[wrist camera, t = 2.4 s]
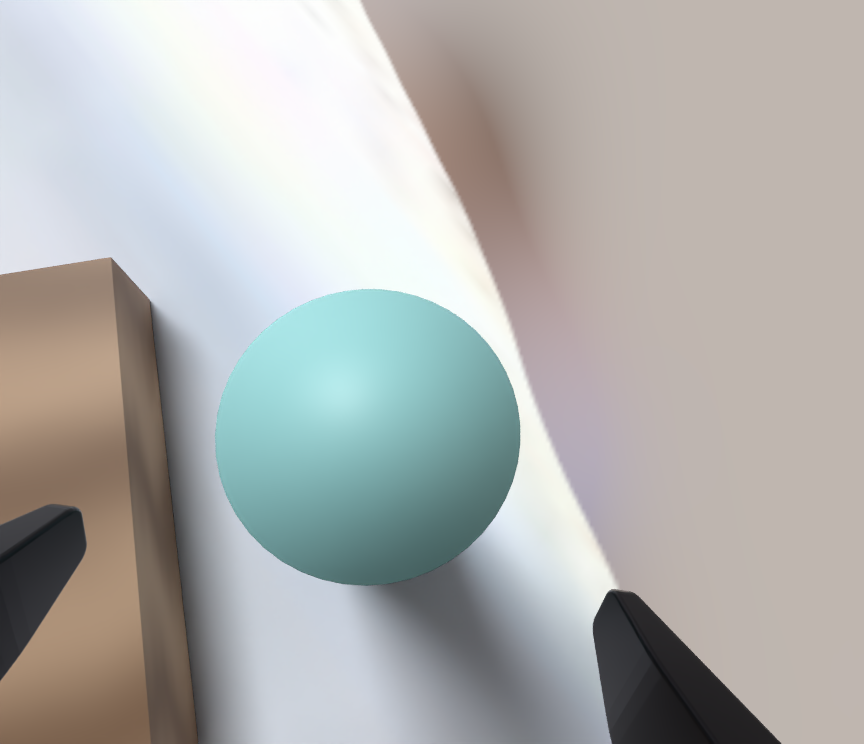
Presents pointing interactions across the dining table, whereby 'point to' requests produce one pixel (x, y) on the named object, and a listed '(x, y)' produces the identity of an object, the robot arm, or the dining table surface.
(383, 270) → the dining table surface
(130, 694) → the socket
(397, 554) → the peg
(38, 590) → the robot arm
